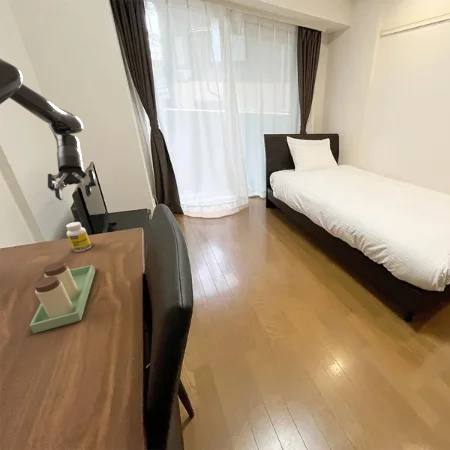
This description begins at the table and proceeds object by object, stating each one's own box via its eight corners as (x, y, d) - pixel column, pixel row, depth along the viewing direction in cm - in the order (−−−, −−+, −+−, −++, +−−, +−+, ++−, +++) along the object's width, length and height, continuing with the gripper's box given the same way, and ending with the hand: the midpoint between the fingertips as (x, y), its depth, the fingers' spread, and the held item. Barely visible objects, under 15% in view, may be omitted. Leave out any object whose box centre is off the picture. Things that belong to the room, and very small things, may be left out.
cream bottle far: (44, 321, 67) (26, 289, 63) (58, 306, 71) (42, 276, 67) (66, 319, 68) (50, 287, 63) (78, 305, 72) (64, 274, 68)
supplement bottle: (73, 253, 96) (63, 229, 91) (73, 247, 99) (62, 223, 95) (92, 248, 99) (83, 224, 94) (91, 243, 102) (81, 219, 98)
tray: (59, 279, 83) (56, 272, 82) (95, 271, 86) (92, 264, 85) (33, 333, 64) (29, 325, 63) (81, 320, 68) (77, 312, 67)
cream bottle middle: (52, 303, 73) (36, 272, 68) (64, 291, 77) (50, 261, 73) (72, 301, 73) (58, 271, 69) (83, 289, 78) (70, 260, 73)
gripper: (41, 156, 99) (45, 196, 95) (88, 152, 105) (93, 190, 101) (52, 167, 106) (55, 204, 102) (95, 163, 111) (100, 198, 107)
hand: (74, 197), depth 101 cm, fingers open, 8 cm apart
